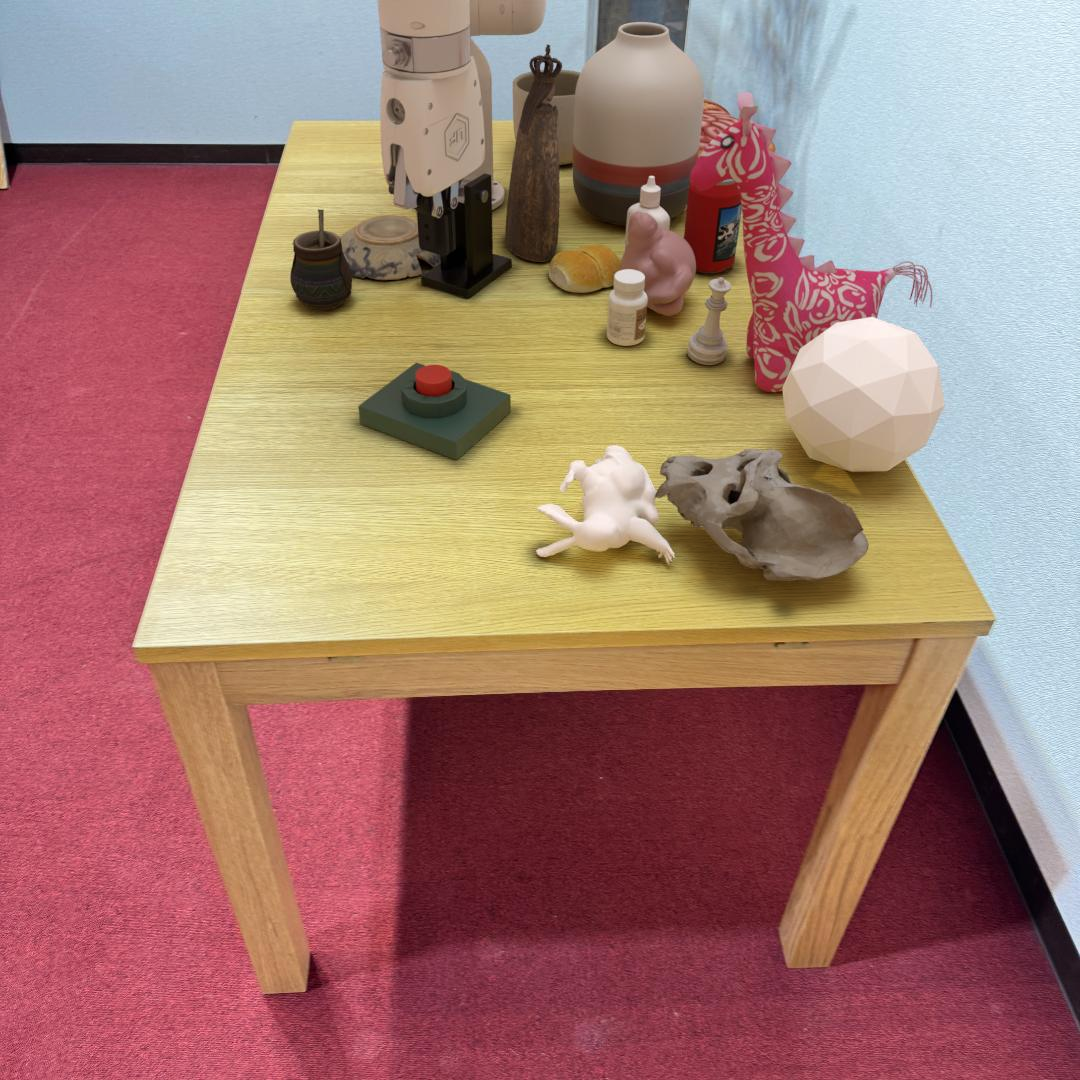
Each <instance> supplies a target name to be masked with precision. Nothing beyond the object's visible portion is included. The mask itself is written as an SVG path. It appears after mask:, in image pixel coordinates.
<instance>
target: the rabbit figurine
mask: <svg viewBox="0 0 1080 1080" xmlns="http://www.w3.org/2000/svg"><path fill="white" fill-rule="evenodd" d="M603 452H604V453H603V455H601V457H599V458H598V459H595V460H594V461H593V462H594V464H592V465H590V466H587V464H586V462H585V461H584V460H580V459H578V460H573V461H571V462H570V463H569V465H568V468H567V474H566V475H565V477H564V480H562V482H561V484H560V486H559V491H560V492H561V493H565V492H567V490H568V488H569V486H570V484H571V483H572V482H573V481H574V480H577V481H578V482H580V488H581V491H582V494H583V496H581V502H580V506H581V508H582V513H583V521H579V520H578V521H577V520H576V519H575V518H573V517H572V516H570V515H569V514H568V513H567V512H566V511H565V510H564V509H563V508H562V507H561V506H560V505H557V504H554V503H546V504H542V505H541V504H540V505H539V506H538V507H536V511H538V512H539V513H541V514H542V515H544V516H545V517H547V518H549V519H550V520H552V521H553V522H554V523H555V524H557V525H559V526H561V527H562V528H564V529H566V530H568V531H570V532H571V533H572V536H568V537H565V538H563V539H560V540H559V539H558V540H556V542H553V543H551V544H549V545H547V546H544V547H539V548H537V549H536V551H535V552H536V554H537V555H538V557H541V558H547V557H551V556H554V555H556V554H558V553H561V552H564V551H566V550H567V549H571V548H573V547H579V548H580V549H583V550H588V551H590V552H605V551H608V550H609V549H619V548H623V546H625V545H627V544H628V543H629V542H630V541H631V542H635V543H638V544H641V545H644V546H646V547H648V548H650V549H652V550H655V552H656V553H658V556H657V557H658V559H661V558H662V557H663V556H664V559H665V562H666V563H667V564H668V565H670V562H672V563H673V558H674V559H676V556H675V555H676V554H675V552H674V550H673V549H672V548H671V546H670V543H669V542H668V540H667V539H665V538H664V537H663V535H661V533H660V532H659V531H658V530H657V528H656V527H655V526H656V524H658V522H659V519H660V513H659V512H658V509H657V507H656V506H655V503H656V500H657V498H656V497H655V495H656V492H657V490H656V488H655V486H654V483H653V482H652V480H651V477H650V475H649V474H648V471H647V469H646V467H644V465H642V463H640V462H637V461H636V460H635V461H634V459H633V458H632V455H631V454H630V453H629V452H628V450H627V449H626V448H624V447H622V446H621V445H616V444H613V445H608V446H607V447H606V448H605V449H604V451H603Z"/></svg>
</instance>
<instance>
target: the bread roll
mask: <svg viewBox="0 0 1080 1080" xmlns="http://www.w3.org/2000/svg"><path fill="white" fill-rule="evenodd" d="M621 262H622V261H621V259H620V258H619V256H618V255H617V254H616V253H615V252H614V251H613V250H612V249H611V248H608V247H606V246H605V245H599V244H597V245H595V244H594V245H591V244H590V245H583V246H578V247H576V248H575V249H573V250H572V249H570V250H563V251H559V252H556V255H555V256H554V257H553V259H551V260H550V262H549V264H548V277H549V279H550V281H552V282H553V283H554V285H556V286H557V287H558V288H559V289H562V290H564V291H565V292H568V293H569V292H570V293H582V294H583V293H591V292H595V291H599V290H601V289H603V288H606V289H607V288H611V287H614V275H615V273H616V272H618V271H620V270H621Z"/></svg>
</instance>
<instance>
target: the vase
mask: <svg viewBox="0 0 1080 1080" xmlns="http://www.w3.org/2000/svg"><path fill="white" fill-rule="evenodd" d="M704 91H705V90H704V84H703V80H702V76H701V73H700V70H699V69H698V67H697V65H696V63H695V62H694V61H693V60H692V59H691V58H690V56H689V55H687V54H686V53H685V52H684V51H683V50H682V49H680V47H678V46H677V45H676V44H675V43H674V42H673V41H672V40H671V38H670V29H669V28H668V27H667V26H666V25H663V24H660V23H656V22H649V21H648V22H647V21H635V22H627V23H623V24H622V25H620V26H619V27H618V29H617V34H616V36H615V38H614V39H613V40H612V41H610V42H609V43H608V44H607V45H605V46H603V47H601V49H599V50H598V51H597V52H595V53H594V54H593V55H592V56H591V57H590V58H589V59H588V60H587V61H586V63H585V64H584V65H583V67H582V69H581V71H580V76H579V79H578V81H577V85H576V90H575V101H574V129H573V163H572V185H573V186H572V187H573V190H574V193H575V196H576V199H577V201H578V203H579V205H580V207H581V208H582V209H583V210H584V211H585V213H587V214H588V215H590V216H591V217H593V218H595V219H597V220H599V221H602V222H604V223H607V224H611V225H616V226H622V227H626V223H627V212H628V209H629V208H630V207H631V206H632V205H634V204H636V203H640V192H641V187H642V186H643V185H646V184H647V182H648V178H649V176H654V177H655V184H656V185H657V186H659V187H660V188H661V192H660V204H659V206H660V207H662V208H663V209H664V210H665V211H666V212H667V214H668V215H669V217H670V220H673V219H674V218H675V217H678V216H679V215H680V214H681V213H682V212H683V211H684V209H685V208H687V201H688V192H689V184H690V174H691V172H692V169H693V168H694V166H695V164H696V162H697V160H698V154H699V144H700V135H701V126H702V116H703V105H704V99H705V92H704Z"/></svg>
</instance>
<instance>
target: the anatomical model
mask: <svg viewBox="0 0 1080 1080" xmlns="http://www.w3.org/2000/svg"><path fill="white" fill-rule="evenodd" d="M737 122H739V118H737V117H735V116H732V115H731V114H730V112H729V111H728V109H726V108H725V107H724V106H722V105H720V104H719V103H717V102H715V101H712V100H710V99H707V98H704V105H703V116H702V126H701V135H700V144H699V154H698V158H699V157H700V155H701V154H702V152H703V150H704V149H705V148H706V146H707V145H708V144H709V143H710V142H711V141H712V140H713V139H714V138H715V137H716V136H718V135H719V134H720V133H721V132H722V131H724V130H725V129H726V128H728V127H729V126H731V125H732V124H734V123H737ZM768 150H770V151H771V152H773V153H775V154H776V145H775V143H774V142H773V140H772V141H771V143H770V146H769V148H768Z"/></svg>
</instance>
